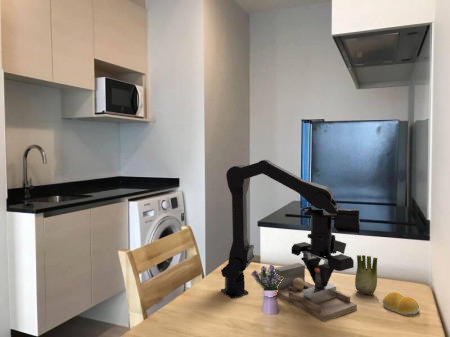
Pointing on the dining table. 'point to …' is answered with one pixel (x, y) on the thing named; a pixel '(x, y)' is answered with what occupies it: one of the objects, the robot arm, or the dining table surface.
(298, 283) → the walnut
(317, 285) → the sliding jaw
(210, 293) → the dining table surface
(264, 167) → the robot arm
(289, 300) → the base
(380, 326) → the dining table surface
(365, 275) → the fennel bulb
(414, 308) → the bread roll
